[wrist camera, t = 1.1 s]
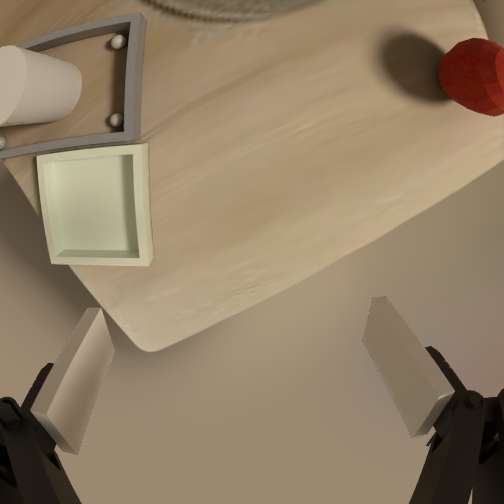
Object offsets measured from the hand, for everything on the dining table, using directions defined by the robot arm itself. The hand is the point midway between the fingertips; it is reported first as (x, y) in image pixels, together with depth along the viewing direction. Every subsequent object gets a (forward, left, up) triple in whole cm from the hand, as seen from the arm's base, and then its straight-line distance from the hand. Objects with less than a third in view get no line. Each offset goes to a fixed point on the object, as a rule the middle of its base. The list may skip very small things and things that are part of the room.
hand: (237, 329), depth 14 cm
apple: (-20, +29, -24) cm, 43 cm away
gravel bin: (-15, -23, -24) cm, 36 cm away
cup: (-15, -23, -24) cm, 36 cm away
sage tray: (0, -17, -24) cm, 29 cm away
